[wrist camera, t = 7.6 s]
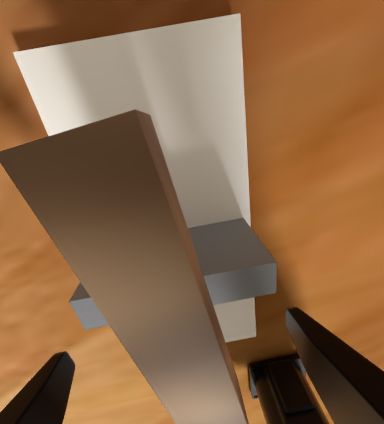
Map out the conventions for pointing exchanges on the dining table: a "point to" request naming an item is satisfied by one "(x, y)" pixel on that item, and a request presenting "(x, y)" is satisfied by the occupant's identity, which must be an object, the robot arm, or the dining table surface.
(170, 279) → the walnut bar
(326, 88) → the dining table surface
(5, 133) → the dining table surface
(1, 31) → the dining table surface
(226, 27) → the balance stand
